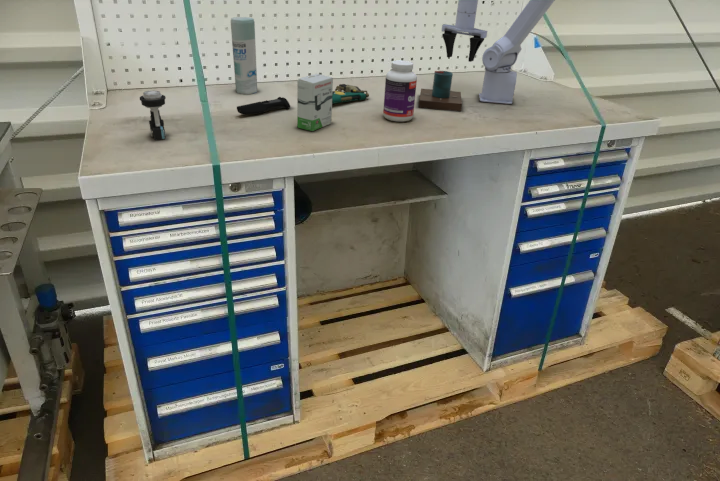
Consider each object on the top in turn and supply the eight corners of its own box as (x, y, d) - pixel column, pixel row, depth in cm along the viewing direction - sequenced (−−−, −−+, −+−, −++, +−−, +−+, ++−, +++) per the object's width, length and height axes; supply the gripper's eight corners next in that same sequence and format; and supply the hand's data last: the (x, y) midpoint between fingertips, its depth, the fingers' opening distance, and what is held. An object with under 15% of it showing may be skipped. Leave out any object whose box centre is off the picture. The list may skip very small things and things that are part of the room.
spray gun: (353, 92, 162) (376, 108, 151) (303, 93, 155) (322, 109, 144) (355, 78, 160) (378, 93, 149) (304, 78, 153) (324, 94, 142)
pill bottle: (411, 124, 136) (416, 67, 129) (380, 121, 137) (384, 64, 130) (414, 115, 143) (420, 60, 136) (385, 112, 144) (389, 58, 137)
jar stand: (420, 95, 160) (421, 87, 159) (459, 99, 159) (460, 91, 158) (418, 107, 149) (419, 99, 148) (460, 111, 148) (462, 103, 147)
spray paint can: (262, 91, 156) (259, 19, 146) (247, 95, 152) (242, 21, 141) (246, 87, 159) (241, 16, 149) (230, 91, 155) (225, 18, 144)
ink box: (312, 132, 127) (312, 82, 121) (296, 127, 130) (295, 78, 123) (332, 123, 134) (333, 75, 128) (317, 119, 136) (317, 72, 130)
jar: (449, 93, 155) (452, 70, 152) (450, 98, 151) (453, 74, 147) (431, 92, 156) (434, 69, 152) (431, 97, 151) (434, 73, 148)
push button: (143, 132, 122) (135, 89, 116) (166, 129, 124) (160, 87, 119) (148, 141, 117) (141, 97, 112) (173, 138, 119) (167, 94, 114)
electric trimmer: (234, 116, 136) (233, 104, 134) (283, 105, 145) (282, 94, 143) (242, 120, 133) (241, 107, 132) (291, 109, 143) (291, 97, 141)
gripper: (438, 10, 158) (433, 56, 165) (482, 16, 151) (474, 64, 158) (450, 8, 163) (444, 53, 170) (493, 14, 156) (485, 61, 163)
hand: (460, 59), depth 164 cm, fingers open, 7 cm apart
